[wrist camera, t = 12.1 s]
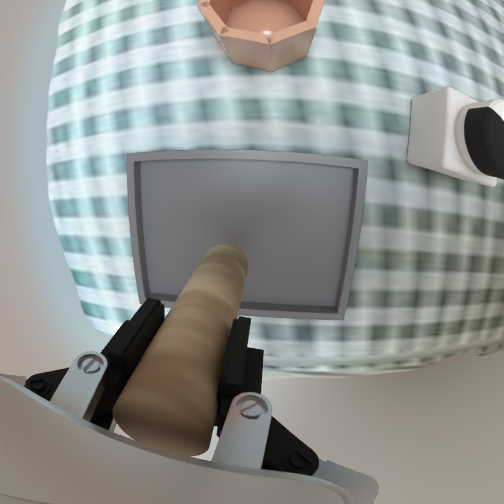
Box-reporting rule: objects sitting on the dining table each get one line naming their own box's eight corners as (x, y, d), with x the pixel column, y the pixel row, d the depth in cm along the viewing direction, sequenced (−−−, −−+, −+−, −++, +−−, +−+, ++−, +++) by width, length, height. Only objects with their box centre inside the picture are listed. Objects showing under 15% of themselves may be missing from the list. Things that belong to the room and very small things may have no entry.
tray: (360, 160, 24) (368, 160, 22) (339, 309, 29) (343, 320, 27) (137, 153, 25) (126, 153, 23) (147, 294, 30) (139, 303, 28)
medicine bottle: (456, 178, 23) (532, 200, 12) (405, 162, 23) (481, 174, 12) (461, 118, 20) (537, 114, 9) (410, 96, 21) (483, 74, 9)
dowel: (256, 274, 19) (229, 452, 7) (218, 292, 20) (157, 457, 8) (233, 236, 19) (162, 393, 6) (194, 256, 19) (94, 405, 7)
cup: (329, 48, 20) (346, 18, 13) (246, 84, 22) (236, 60, 15) (281, -12, 18) (282, -50, 11) (203, 21, 20) (183, -11, 13)
